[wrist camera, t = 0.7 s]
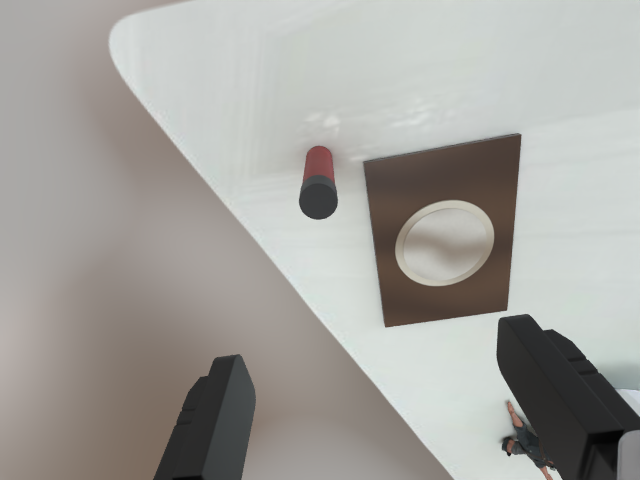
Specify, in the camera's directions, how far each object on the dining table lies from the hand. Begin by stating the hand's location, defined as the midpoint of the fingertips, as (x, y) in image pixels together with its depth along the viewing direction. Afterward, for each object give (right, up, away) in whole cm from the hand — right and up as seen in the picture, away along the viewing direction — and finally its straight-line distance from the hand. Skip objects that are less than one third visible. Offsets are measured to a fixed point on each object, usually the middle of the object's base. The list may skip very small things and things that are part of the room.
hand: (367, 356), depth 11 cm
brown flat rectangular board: (+11, +3, +25) cm, 28 cm away
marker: (-2, +11, +21) cm, 24 cm away
